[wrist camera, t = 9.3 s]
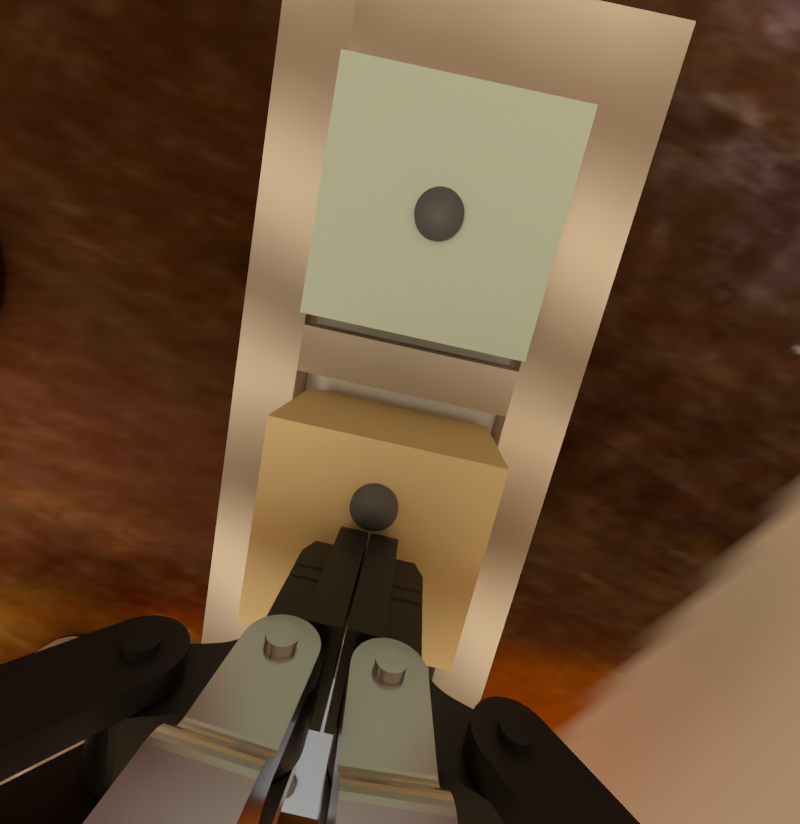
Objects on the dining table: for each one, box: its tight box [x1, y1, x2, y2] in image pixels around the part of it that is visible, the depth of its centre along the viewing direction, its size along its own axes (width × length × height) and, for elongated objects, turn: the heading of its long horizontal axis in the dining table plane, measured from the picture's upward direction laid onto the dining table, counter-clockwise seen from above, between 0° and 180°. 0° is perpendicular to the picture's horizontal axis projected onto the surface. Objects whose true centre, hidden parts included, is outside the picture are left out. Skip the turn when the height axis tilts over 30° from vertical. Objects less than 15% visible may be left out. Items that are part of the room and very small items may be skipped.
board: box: [201, 0, 696, 709], centre depth 16 cm, size 30×11×2 cm, turn 168°
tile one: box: [300, 49, 598, 362], centre depth 12 cm, size 6×6×4 cm
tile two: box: [237, 388, 509, 671], centre depth 13 cm, size 6×6×4 cm
